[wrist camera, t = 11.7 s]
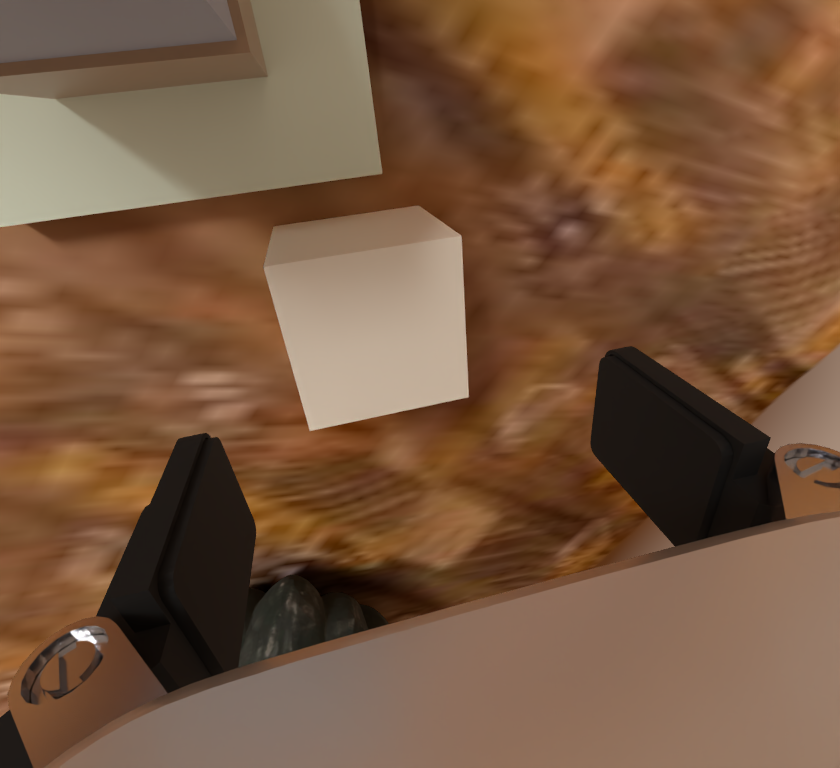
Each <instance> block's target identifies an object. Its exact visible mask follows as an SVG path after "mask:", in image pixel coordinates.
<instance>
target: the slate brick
mask: <svg viewBox="0 0 840 768" xmlns="http://www.w3.org/2000/svg"><path fill="white" fill-rule="evenodd" d="M231 40H237V38H236V34H235V30H234V26H233V22H232V18H231V15H230V11H229V7H228V3H227V0H0V63H8V62H18V61H28V60H38V59H49V58H59V57H69V56H79V55H89V54H99V53H110V52H120V51H130V50H140V49H150V48H160V47H171V46H181V45H191V44H201V43H211V42H221V41H231Z"/></svg>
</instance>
